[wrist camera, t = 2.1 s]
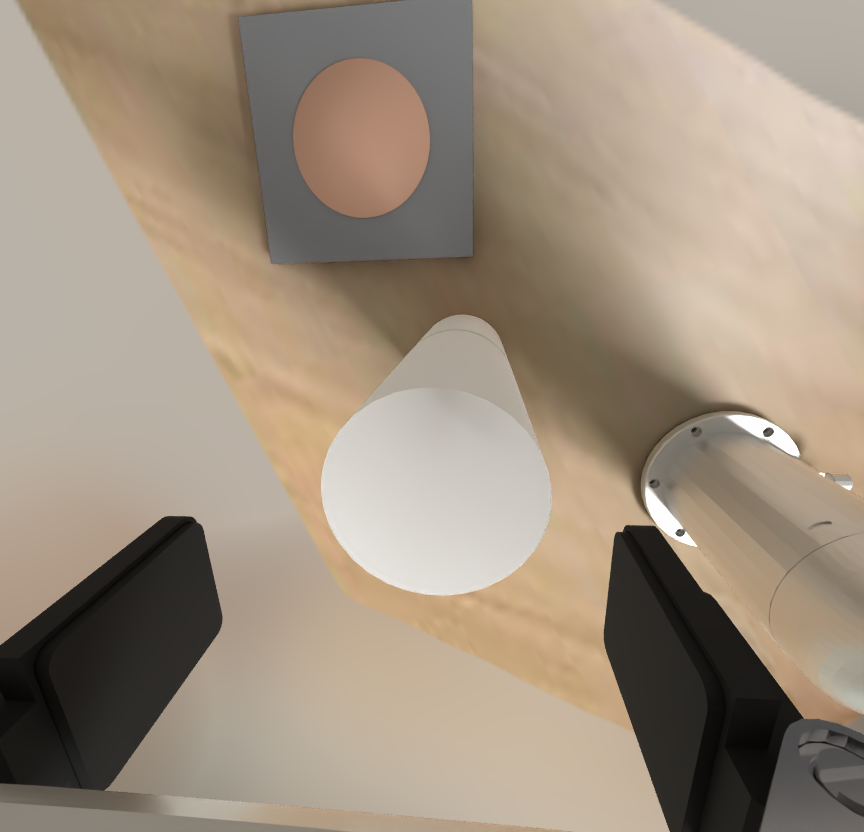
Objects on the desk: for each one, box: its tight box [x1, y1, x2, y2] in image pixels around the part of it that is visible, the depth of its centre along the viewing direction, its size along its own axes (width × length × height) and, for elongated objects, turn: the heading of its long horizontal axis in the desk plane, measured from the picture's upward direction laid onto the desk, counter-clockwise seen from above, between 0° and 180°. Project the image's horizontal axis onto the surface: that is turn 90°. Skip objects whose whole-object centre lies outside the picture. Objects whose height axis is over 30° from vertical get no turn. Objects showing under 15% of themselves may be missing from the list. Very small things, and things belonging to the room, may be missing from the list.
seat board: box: [238, 0, 473, 264], centre depth 32 cm, size 16×16×2 cm
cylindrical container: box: [321, 314, 552, 596], centre depth 25 cm, size 7×7×25 cm
